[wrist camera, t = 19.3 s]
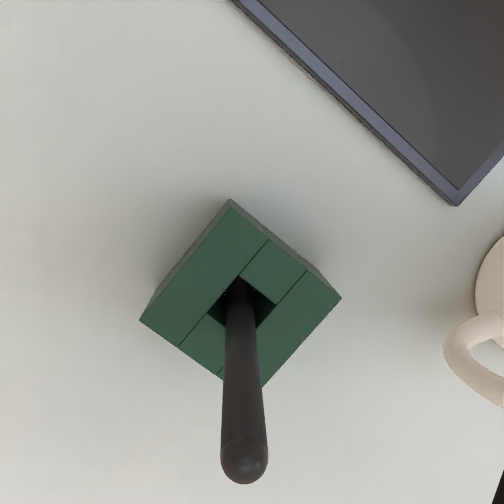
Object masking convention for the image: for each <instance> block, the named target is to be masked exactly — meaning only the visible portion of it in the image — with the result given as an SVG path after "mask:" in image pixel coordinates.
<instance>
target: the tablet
mask: <svg viewBox="0 0 504 504" xmlns="http://www.w3.org/2000/svg"><path fill="white" fill-rule="evenodd" d="M232 1H233V2H234V3H235V4H236V5H237V6H238V7H239V8H240V9H241V10H242V11H243V12H245V13H246V14H247V15H248V16H249V17H250V18H251V19H252V20H253V21H254V22H255V23H256V24H257V25H258V26H260V27H261V28H262V29H263V30H264V31H265V32H266V33H267V34H268V35H269V36H270V37H271V38H272V39H273V40H274V41H276V42H277V43H278V44H279V45H280V46H281V47H282V48H283V49H284V50H285V51H286V52H287V53H288V54H289V55H291V56H292V57H293V58H294V59H295V60H296V61H297V62H298V63H299V64H300V65H301V66H302V67H303V68H304V69H306V70H307V71H308V72H309V73H310V74H311V75H312V76H313V77H314V78H315V79H316V80H317V81H318V82H319V83H320V84H322V85H323V86H324V87H325V88H326V89H327V90H328V91H329V92H330V93H331V94H332V95H333V96H334V97H335V98H337V99H338V100H339V101H340V102H341V103H342V104H343V105H344V106H345V107H346V108H347V109H348V110H349V111H350V112H352V113H353V114H354V115H355V116H356V117H357V118H358V119H359V120H360V121H361V122H362V123H363V124H364V125H365V126H367V127H368V128H369V129H370V130H371V131H372V132H373V133H374V134H375V135H376V136H377V137H378V138H379V139H380V140H381V141H383V142H384V143H385V144H386V145H387V146H388V147H389V148H390V149H391V150H392V151H393V152H394V153H395V154H396V155H398V156H399V157H400V158H401V159H402V160H403V161H404V162H405V163H406V164H407V165H408V166H409V167H410V168H411V169H413V170H414V171H415V172H416V173H417V174H418V175H419V176H420V177H421V178H422V179H423V180H424V181H425V182H426V183H427V184H429V185H430V186H431V187H432V188H433V189H434V190H435V191H436V192H437V193H438V194H439V195H440V196H441V197H442V198H444V199H445V200H446V201H447V202H448V203H449V204H450V205H451V206H456V207H458V206H459V205H460V204H461V202H462V201H463V200H464V199H465V198H466V197H467V196H468V195H469V194H470V193H471V191H472V190H473V189H474V188H475V187H476V186H477V185H478V184H479V183H480V182H481V180H482V179H483V178H484V177H485V176H486V175H487V174H488V173H489V172H490V171H491V169H492V168H493V167H494V166H495V165H496V164H497V163H498V162H499V161H500V159H501V158H502V157H503V156H504V0H232Z"/></svg>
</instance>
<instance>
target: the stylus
mask: <svg viewBox="0 0 504 504" xmlns="http://www.w3.org/2000/svg"><path fill="white" fill-rule="evenodd" d="M220 460H221V466H222V469H223V471H224V473H225V474H226V476H227V477H228V478H229V479H231V480H232V481H234V482H236V483H239V484H250V483H253V482H255V481H256V480H258V479H259V478H260V477H261V476H262V475H263V473H264V472H265V470H266V467H267V464H268V447H267V437H266V427H265V417H264V407H263V397H262V387H261V377H260V367H259V357H258V347H257V337H256V327H255V317H254V307H253V297H252V287H251V285H250V284H249V283H247V282H246V281H245V280H244V279H242V278H241V277H240V276H239V274H238V276H237V277H236V278H235V279H234V280H233V282H232V283H231V284H230V285H229V286H228V288H227V307H226V331H225V355H224V379H223V403H222V427H221V451H220Z"/></svg>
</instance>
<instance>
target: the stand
mask: <svg viewBox="0 0 504 504" xmlns="http://www.w3.org/2000/svg"><path fill="white" fill-rule="evenodd" d="M238 274H239V276H240V277H241V278H242V279H244V280H245V281H246V282H247V283H249V284H250V285H251V286H253V287H254V288H255V289H256V291H255V292H254V293H253V294H252V297H253V307H254V317H255V327H256V337H257V347H258V357H259V367H260V377H261V387H263V386H264V385H265V384H266V383H267V382H268V381H269V379H270V378H271V377H272V376H273V375H274V374H275V373H276V372H277V370H278V369H279V368H280V367H281V366H282V365H283V364H284V363H285V362H286V360H287V359H288V358H289V357H290V356H291V355H292V354H293V353H294V351H295V350H296V349H297V348H298V347H299V346H300V345H301V344H302V342H303V341H304V340H305V339H306V338H307V337H308V336H309V335H310V334H311V332H312V331H313V330H314V329H315V328H316V327H317V326H318V325H319V323H320V322H321V321H322V320H323V319H324V318H325V317H326V316H327V314H328V313H329V312H330V311H331V310H332V309H333V308H334V307H335V306H336V304H337V303H338V302H339V301H340V300H341V299H342V298H341V296H340V295H339V294H338V293H337V292H336V290H335V289H334V288H333V287H332V286H331V285H330V283H329V282H328V281H327V280H326V279H325V278H324V276H323V275H322V274H321V273H320V272H319V271H318V270H317V269H316V268H315V267H313V266H312V265H311V264H310V263H308V262H307V261H306V260H305V259H304V258H302V257H301V256H300V255H299V254H297V253H296V252H295V251H294V250H293V249H291V248H290V247H289V246H288V245H287V244H285V243H284V242H283V241H282V240H280V239H279V238H278V237H277V236H276V235H274V234H273V233H272V232H271V231H269V230H268V229H267V228H266V227H265V226H263V225H262V224H260V222H259V221H257V220H256V219H255V218H254V217H252V216H251V215H250V214H249V213H248V212H246V211H245V210H244V209H243V208H241V207H240V206H239V205H238V204H237V203H235V202H234V201H233V200H232V199H229V200H228V201H227V203H226V204H225V205H224V206H223V208H222V209H221V210H220V211H219V212H218V214H217V215H216V216H215V217H214V219H213V220H212V221H211V222H210V224H209V225H208V226H207V227H206V228H205V230H204V231H203V232H202V233H201V235H200V236H199V237H198V238H197V240H196V241H195V242H194V243H193V245H192V246H191V247H190V248H189V249H188V251H187V252H186V253H185V254H184V256H183V257H182V258H181V259H180V261H179V262H178V263H177V264H176V265H175V267H174V268H173V269H172V270H171V272H170V273H169V274H168V275H167V277H166V278H165V279H164V280H163V281H162V283H161V284H160V285H159V286H158V288H157V289H156V291H155V292H154V294H153V296H152V298H151V299H150V301H149V303H148V305H147V306H146V308H145V310H144V312H143V313H142V315H141V317H140V319H139V321H140V322H142V323H143V324H145V325H146V326H147V327H149V328H150V329H152V330H153V331H154V332H156V333H157V334H159V335H160V336H161V337H163V338H164V339H166V340H167V341H168V342H170V343H171V344H173V345H174V346H175V347H177V348H178V349H180V350H181V351H182V352H184V353H185V354H187V355H188V356H189V357H191V358H192V359H194V360H195V361H196V362H198V363H199V364H201V365H202V366H203V367H205V368H206V369H208V370H209V371H210V372H212V373H213V374H215V375H216V376H218V377H219V378H220V379H222V380H223V379H224V355H225V331H226V307H227V296H226V295H225V294H224V293H223V292H224V291H225V290H226V289H227V288H228V286H229V285H230V284H231V283H232V282H233V280H234V279H235V278H236V277H237V276H238Z"/></svg>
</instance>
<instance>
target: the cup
mask: <svg viewBox="0 0 504 504" xmlns="http://www.w3.org/2000/svg"><path fill="white" fill-rule="evenodd" d="M475 302H476V309H477V312H478V316H476V317H473V318H471V319H469V320H467V321H465V322H463V323H461V324H459V325H458V326H456V327H455V328H454V329H452V330H451V331H450V333H449V334H448V335H447V337H446V339H445V341H444V345H443V353H444V357H445V359H446V361H447V363H448V365H449V367H450V368H451V370H452V371H453V372H454V373H455V374H456V375H457V376H458V378H459V379H461V380H462V381H463V382H464V383H465V384H466V385H468V386H469V387H470V388H472V389H473V390H474V391H475V392H477V393H478V394H480V395H481V396H483V397H484V398H486V399H487V400H489V401H491V402H493V403H494V404H496V405H498V406H500V407H502V408H504V378H503V377H501V376H499V375H497V374H495V373H494V372H492V371H490V370H488V369H487V368H485V367H484V366H482V365H481V364H479V363H478V362H477V361H476V360H475V359H474V358H473V357H472V356H471V355H470V354H469V352H468V350H469V349H470V348H471V347H473V346H474V345H476V344H478V343H481V342H483V341H486V340H490V339H493V340H494V341H495V342H496V343H497V344H498V345H499V346H500V347H502V348H503V349H504V236H503V237H502V238H500V239H499V240H498V242H497V243H496V244H495V245H494V246H493V247H492V248H491V250H490V251H489V253H488V254H487V256H486V257H485V259H484V261H483V263H482V265H481V268H480V270H479V273H478V277H477V281H476V289H475Z"/></svg>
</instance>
